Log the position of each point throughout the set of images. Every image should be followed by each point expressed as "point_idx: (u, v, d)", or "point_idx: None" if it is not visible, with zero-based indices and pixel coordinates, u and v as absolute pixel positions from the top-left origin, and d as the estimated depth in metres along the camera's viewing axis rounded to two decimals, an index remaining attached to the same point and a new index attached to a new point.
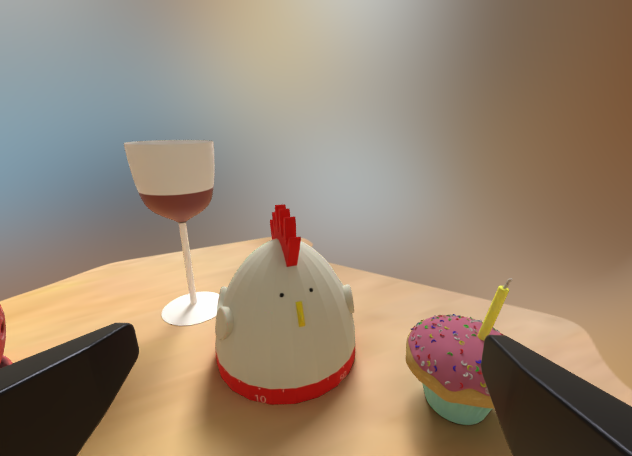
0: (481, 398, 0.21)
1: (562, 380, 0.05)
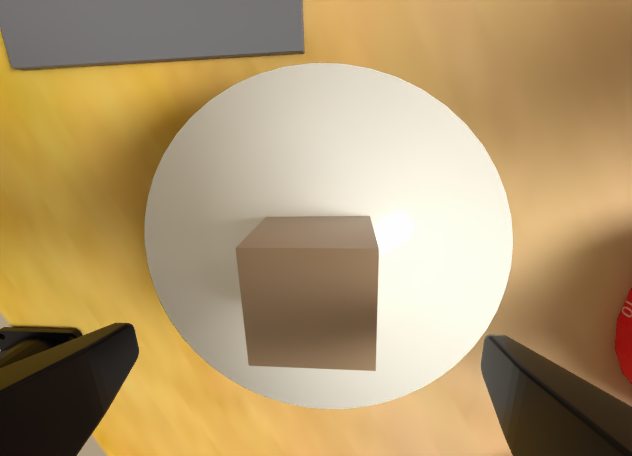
0: None
1: (562, 380, 0.05)
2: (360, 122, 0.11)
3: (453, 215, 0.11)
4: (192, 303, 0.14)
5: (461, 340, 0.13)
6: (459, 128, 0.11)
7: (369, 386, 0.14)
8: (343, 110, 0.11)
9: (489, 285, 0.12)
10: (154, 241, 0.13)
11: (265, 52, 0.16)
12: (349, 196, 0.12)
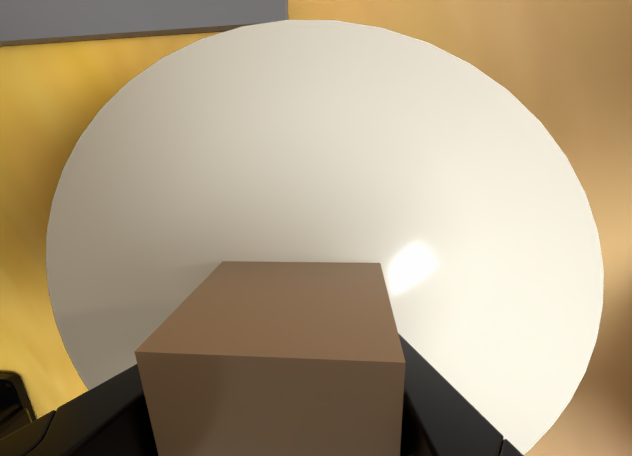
0: None
1: (417, 374, 0.06)
2: (366, 117, 0.07)
3: (511, 264, 0.07)
4: None
5: (512, 439, 0.09)
6: (528, 128, 0.06)
7: None
8: (338, 98, 0.07)
9: (560, 366, 0.08)
10: (63, 292, 0.09)
11: (235, 24, 0.11)
12: (348, 233, 0.08)
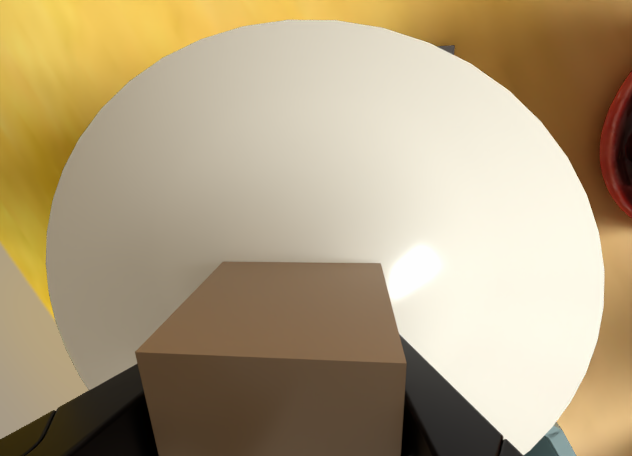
0: None
1: (418, 373, 0.06)
2: (367, 118, 0.07)
3: (511, 264, 0.07)
4: None
5: (513, 440, 0.09)
6: (529, 128, 0.06)
7: None
8: (339, 98, 0.07)
9: (561, 367, 0.08)
10: (63, 292, 0.09)
11: None
12: (349, 234, 0.08)
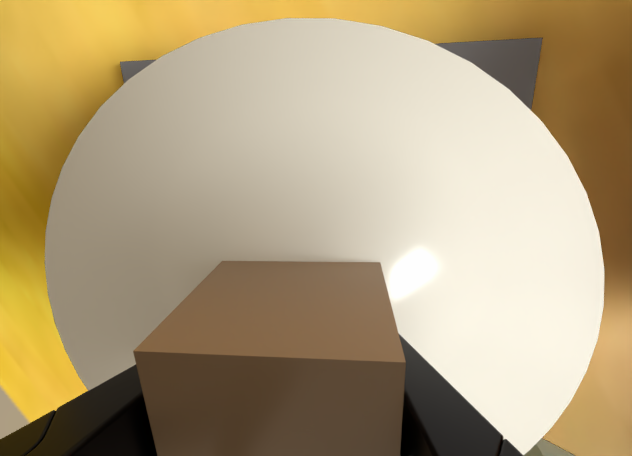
0: None
1: (417, 374, 0.06)
2: (366, 117, 0.07)
3: (511, 263, 0.07)
4: None
5: (513, 440, 0.09)
6: (529, 127, 0.06)
7: None
8: (339, 97, 0.07)
9: (561, 366, 0.08)
10: (61, 292, 0.09)
11: None
12: (348, 233, 0.07)
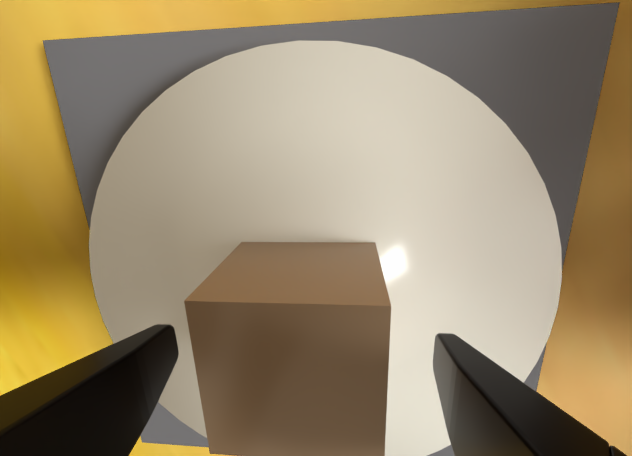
0: None
1: (493, 377, 0.06)
2: (363, 120, 0.08)
3: (484, 243, 0.09)
4: None
5: None
6: (496, 129, 0.08)
7: None
8: (340, 104, 0.08)
9: (528, 331, 0.09)
10: (102, 270, 0.10)
11: None
12: (348, 218, 0.09)
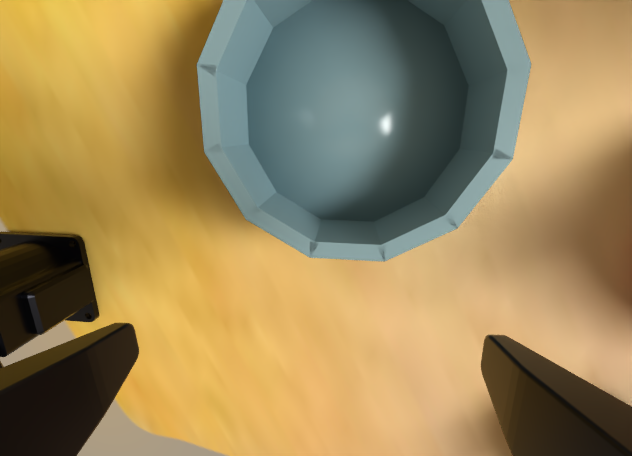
0: None
1: (562, 380, 0.05)
2: None
3: None
4: None
5: None
6: None
7: None
8: None
9: None
10: None
11: None
12: None
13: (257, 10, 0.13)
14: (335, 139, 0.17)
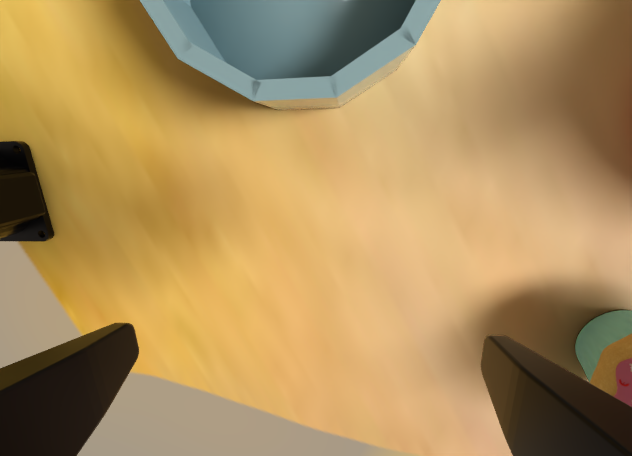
0: None
1: (562, 380, 0.05)
2: None
3: None
4: None
5: None
6: None
7: None
8: None
9: None
10: None
11: None
12: None
13: None
14: None
